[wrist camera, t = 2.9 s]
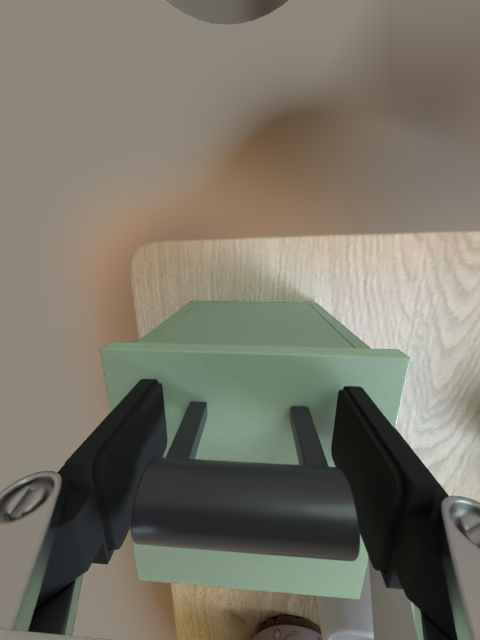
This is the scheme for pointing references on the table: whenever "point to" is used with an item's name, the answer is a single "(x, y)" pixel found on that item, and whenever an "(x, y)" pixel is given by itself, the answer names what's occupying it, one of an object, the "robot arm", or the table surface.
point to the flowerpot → (288, 629)
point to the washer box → (254, 326)
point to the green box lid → (251, 464)
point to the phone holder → (368, 613)
